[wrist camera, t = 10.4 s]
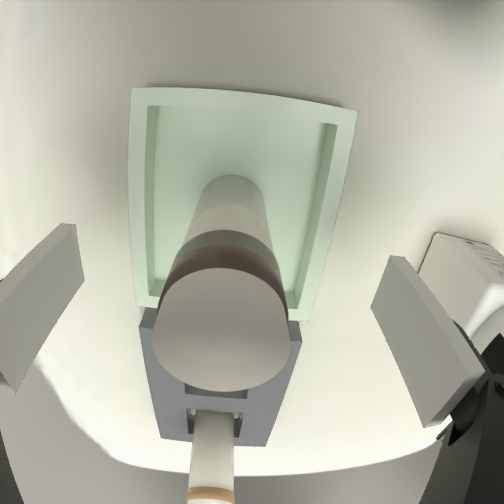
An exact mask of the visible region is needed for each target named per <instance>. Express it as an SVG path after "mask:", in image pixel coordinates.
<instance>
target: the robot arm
mask: <svg viewBox="0 0 504 504" xmlns="http://www.w3.org/2000/svg"><path fill="white" fill-rule="evenodd" d="M83 282H84V275H83V269H82V264H81V258H80V252H79V245H78V238H77V231H76V224H64V223H61V224H60V225H59V226H58V227H56V228H55V229H54V230H53V231H52V232H51V233H50V234H49V235H48V236H46V237H45V238H44V239H43V240H42V241H41V242H40V243H39V244H38V245H37V246H36V247H35V248H34V249H33V250H32V251H30V252H29V253H28V254H27V255H26V256H25V257H24V258H23V259H22V260H21V261H20V262H19V263H18V264H17V265H16V266H15V267H14V268H13V269H12V270H11V272H10V273H9V274H8V275H7V276H6V277H5V278H4V279H2V280H0V388H2V389H5V390H7V391H9V392H12V393H14V394H16V392H17V390H18V388H19V386H20V384H21V382H22V380H23V379H24V377H25V375H26V373H27V371H28V369H29V368H30V366H31V364H32V362H33V360H34V359H35V357H36V355H37V353H38V352H39V350H40V348H41V347H42V345H43V343H44V342H45V340H46V338H47V337H48V335H49V333H50V332H51V330H52V329H53V327H54V325H55V324H56V322H57V321H58V319H59V317H60V316H61V314H62V313H63V311H64V310H65V308H66V307H67V305H68V304H69V302H70V301H71V299H72V298H73V296H74V295H75V293H76V292H77V290H78V289H79V288H80V286H81V285H82V283H83ZM371 309H372V311H373V313H374V315H375V318H376V320H377V322H378V324H379V326H380V328H381V330H382V332H383V334H384V336H385V339H386V341H387V343H388V345H389V347H390V349H391V352H392V354H393V356H394V358H395V360H396V363H397V365H398V367H399V370H400V372H401V374H402V376H403V379H404V381H405V383H406V386H407V388H408V391H409V393H410V395H411V398H412V400H413V403H414V405H415V408H416V410H417V413H418V415H419V418H420V420H421V423H422V425H423V428H426V427H430V426H435V425H439V424H441V423H442V422H443V421H444V420H445V418H446V417H447V416H448V415H449V414H450V415H451V417H452V421H451V423H450V424H449V425H448V426H447V427H446V428H445V429H444V430H443V431H442V432H441V433H440V434H439V435H438V436H437V438H436V439H437V440H439V439H440V438H441V437H442V436H443V435H444V434H445V437H444V439H443V440H442V442H443V444H442V446H441V449H440V453H439V455H438V458H437V461H436V464H435V466H434V469H433V472H432V474H431V477H430V479H429V482H428V484H427V487H426V489H425V491H424V493H423V496H422V498H421V500H420V502H419V504H504V375H501V374H492V373H491V371H490V369H489V368H488V366H487V365H486V363H485V361H484V360H483V358H482V357H481V355H480V354H479V352H478V350H477V349H476V347H474V344H473V343H472V341H471V340H469V337H468V335H467V334H466V333H465V331H464V330H463V328H462V327H461V326H460V325H458V324H457V323H456V322H455V321H454V320H452V319H451V318H450V316H449V315H448V313H447V312H446V311H445V309H444V308H443V307H442V305H441V304H440V302H439V301H438V300H437V298H436V297H435V296H434V294H433V293H432V292H431V290H430V289H429V288H428V286H427V285H426V284H425V282H424V281H423V280H422V278H421V277H420V276H419V275H418V273H417V272H416V271H415V270H414V268H413V267H412V266H411V265H410V263H409V262H408V261H407V260H406V258H405V257H400V256H391V255H390V257H389V259H388V262H387V265H386V268H385V271H384V273H383V276H382V279H381V281H380V284H379V287H378V289H377V292H376V294H375V297H374V299H373V302H372V304H371ZM0 504H24V502H23V500H22V497H21V495H20V492H19V490H18V487H17V484H16V482H15V479H14V476H13V473H12V470H11V467H10V464H9V460H8V457H7V454H6V450H5V447H4V443H3V439H2V436H1V432H0Z"/></svg>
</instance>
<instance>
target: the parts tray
mask: <svg viewBox="0 0 504 504" xmlns="http://www.w3.org/2000/svg"><path fill="white" fill-rule="evenodd" d="M357 114H358V111H354V110H349V109H345V108H341V107H336V106H331V105H326V104H321V103H316V102H311V101H305V100H300V99H294V98H287V97H281V96H274V95H267V94H259V93H250V92H241V91H230V90H217V89H201V88H175V87H140V88H131V99H130V115H129V137H128V208H129V231H130V247H131V261H132V272H133V283H134V292H135V301H136V306H142V307H150V308H158V302H159V299H160V296H161V294H162V291H163V288H164V285H165V282H166V280H167V277H168V274H169V271H170V269H171V266H172V263H173V261H174V258H175V256H176V254H177V253H178V251H179V250H180V249H181V246H182V243H183V241H184V238H185V235H186V233H187V230H188V227H189V225H190V222H191V220H192V217H193V214H194V212H195V209H196V207H197V204H198V202H199V199H200V197H201V194H202V192H203V190H204V189H205V187H206V186H207V185H208V184H209V183H210V182H211V181H213V180H214V179H216V178H218V177H220V176H224V175H239V176H243V177H245V178H247V179H249V180H251V181H252V182H253V183H254V184H255V185H256V186H257V187H258V188H259V190H260V191H261V193H262V196H263V200H264V205H265V210H266V215H267V220H268V225H269V230H270V235H271V240H272V245H273V251H274V256H275V258H276V260H277V262H278V265H279V268H280V273H281V278H282V283H283V288H284V293H285V298H286V303H287V308H288V313H289V320H294V321H309V318H310V315H311V311H312V308H313V305H314V301H315V298H316V294H317V291H318V287H319V283H320V280H321V276H322V273H323V269H324V265H325V261H326V257H327V254H328V250H329V246H330V242H331V238H332V234H333V230H334V226H335V221H336V217H337V213H338V209H339V204H340V200H341V195H342V191H343V186H344V182H345V177H346V172H347V167H348V162H349V157H350V152H351V147H352V142H353V137H354V131H355V126H356V120H357Z"/></svg>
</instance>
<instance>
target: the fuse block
mask: <svg viewBox="0 0 504 504" xmlns="http://www.w3.org/2000/svg"><path fill="white" fill-rule="evenodd" d="M156 318H157V308H150V307H146V310H145V312H144V315H143V317H142V320H141V323H140V325H139V331H140V338H141V344H142V350H143V356H144V362H145V367H146V373H147V378H148V383H149V388H150V393H151V398H152V402H153V407H154V411H155V416H156V420H157V424H158V428H159V432H160V436H161V438H164V439H171V440H178V441H186V442H193V432H194V422H195V416H192V415H190V409H198V410H208V411H219V412H234V413H240V416H239V419H234V446H260V447H265V446H266V444H267V441H268V439H269V436H270V433H271V431H272V428H273V425H274V423H275V420H276V417H277V415H278V412H279V409H280V406H281V404H282V401H283V398H284V395H285V392H286V389H287V387H288V384H289V381H290V378H291V375H292V372H293V369H294V366H295V363H296V360H297V357H298V354H299V350H300V347H301V344H302V337H301V333H300V328H299V323H298V321H294V320H288V331H289V337H290V343H291V349H290V354H289V357H288V360H287V362H286V364H285V365H284V367H283V368H282V369H281V370H280V372H279V373H277V374H276V375H275V376H274V377H273V378H271V379H270V380H268V381H266V382H265V383H263V384H260V385H258V386H256V387H253V388H249V389H245V390H240V391H230V392H220V391H210V390H205V389H200V388H197V387H194V386H191V385H189V384H186V383H184V382H182V381H180V380H179V379H177V378H175V377H174V376H173V375H171V374H170V373H169V372H168V371H167V370H166V369H165V368H163V366H162V365H161V364H160V363H159V361H158V360H157V358H156V356H155V354H154V351H153V348H152V340H151V337H152V331H153V328H154V325H155V322H156Z"/></svg>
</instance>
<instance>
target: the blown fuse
mask: <svg viewBox="0 0 504 504" xmlns="http://www.w3.org/2000/svg"><path fill="white" fill-rule="evenodd" d="M288 320H289V313H288V308H287V303H286V298H285V293H284V288H283V283H282V278H281V273H280V268H279V265H278V262H277V260H276V258H275V256H274V251H273V245H272V240H271V235H270V230H269V225H268V220H267V215H266V210H265V205H264V200H263V196H262V193H261V191H260V190H259V188H258V187H257V186H256V185H255V184H254V183H253V182H252V181H251V180H249V179H247V178H245V177H243V176H239V175H224V176H220V177H218V178H216V179H214V180H213V181H211V182H210V183H209V184H208V185H207V186H206V187H205V189H204V190H203V192H202V194H201V197H200V199H199V202H198V204H197V207H196V209H195V212H194V214H193V217H192V220H191V222H190V225H189V227H188V230H187V233H186V235H185V238H184V241H183V243H182V246H181V249H180V250H179V251H178V253H177V254H176V256H175V258H174V261H173V263H172V266H171V269H170V271H169V274H168V277H167V280H166V282H165V285H164V288H163V291H162V294H161V296H160V299H159V302H158V308H157V318H156V322H155V325H154V328H153V331H152V337H151V340H152V348H153V351H154V354H155V356H156V358H157V360H158V361H159V363H160V364H161V365H162V366H163V368H165V369H166V370H167V371H168V372H169V373H170V374H171V375H173V376H174V377H175V378H177V379H179V380H180V381H182V382H184V383H186V384H189V385H191V386H194V387H197V388H200V389H205V390H210V391H220V392H230V391H240V390H245V389H249V388H253V387H256V386H258V385H260V384H263V383H265V382H266V381H268V380H270V379H271V378H273V377H274V376H275V375H276V374H277V373H279V372H280V370H281V369H282V368H283V367H284V365H285V364H286V362H287V360H288V357H289V354H290V349H291V343H290V337H289V331H288Z"/></svg>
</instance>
